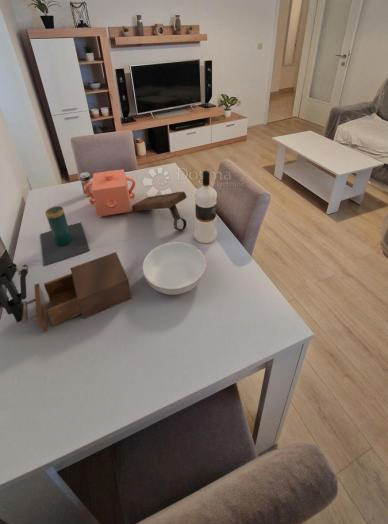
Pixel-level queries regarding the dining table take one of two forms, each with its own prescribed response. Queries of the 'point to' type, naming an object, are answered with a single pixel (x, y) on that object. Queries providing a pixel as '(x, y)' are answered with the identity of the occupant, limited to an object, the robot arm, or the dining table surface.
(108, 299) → the cabinet
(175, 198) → the bottle opener
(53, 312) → the drawer
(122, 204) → the orange box
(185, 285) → the serving bowl
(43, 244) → the mat
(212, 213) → the vodka
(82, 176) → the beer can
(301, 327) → the dining table surface
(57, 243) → the tin
